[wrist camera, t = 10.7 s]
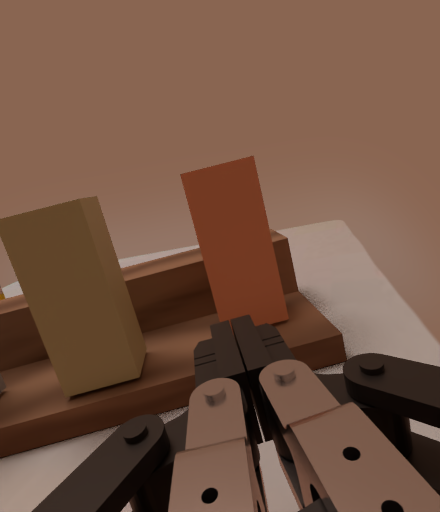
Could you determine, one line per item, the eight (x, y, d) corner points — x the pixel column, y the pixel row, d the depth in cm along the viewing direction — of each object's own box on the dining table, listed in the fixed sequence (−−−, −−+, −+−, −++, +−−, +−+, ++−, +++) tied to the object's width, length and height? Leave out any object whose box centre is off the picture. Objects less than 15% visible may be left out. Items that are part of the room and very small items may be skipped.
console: (346, 360, 23) (329, 261, 21) (-139, 496, 22) (-197, 402, 20) (284, 290, 37) (271, 229, 36) (-7, 369, 36) (-34, 309, 35)
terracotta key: (288, 319, 25) (253, 155, 23) (223, 336, 25) (180, 174, 23) (275, 300, 29) (243, 159, 27) (218, 316, 29) (181, 175, 26)
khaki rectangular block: (139, 377, 23) (79, 198, 20) (65, 397, 22) (-6, 220, 20) (146, 348, 27) (96, 196, 24) (83, 365, 26) (26, 214, 24)
